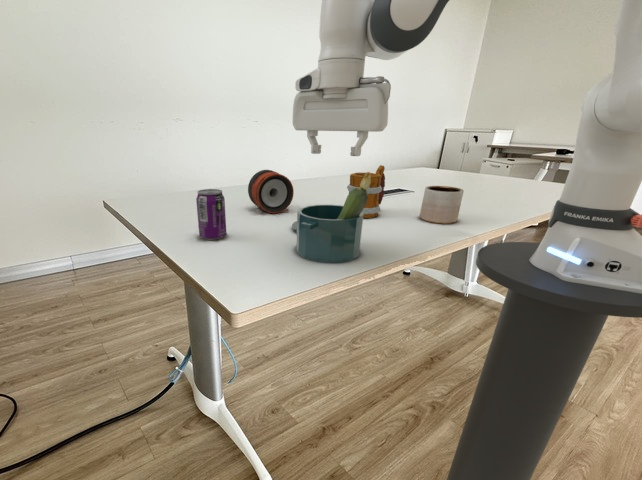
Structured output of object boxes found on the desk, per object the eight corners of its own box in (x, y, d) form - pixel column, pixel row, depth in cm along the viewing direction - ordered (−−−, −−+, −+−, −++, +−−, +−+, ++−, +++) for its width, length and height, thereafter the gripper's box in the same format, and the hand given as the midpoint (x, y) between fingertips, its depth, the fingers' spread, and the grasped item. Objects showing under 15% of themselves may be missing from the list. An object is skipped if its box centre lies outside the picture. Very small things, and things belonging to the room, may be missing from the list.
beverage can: (229, 239, 89) (226, 192, 84) (201, 242, 87) (197, 194, 82) (223, 232, 95) (220, 188, 90) (197, 234, 93) (193, 189, 88)
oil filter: (257, 215, 112) (256, 174, 106) (246, 207, 122) (245, 169, 117) (293, 212, 116) (294, 172, 110) (279, 204, 126) (280, 167, 121)
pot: (374, 246, 84) (379, 208, 80) (333, 272, 70) (336, 227, 66) (323, 235, 93) (325, 200, 89) (277, 255, 79) (277, 215, 75)
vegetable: (332, 244, 84) (378, 171, 72) (337, 256, 81) (386, 181, 69) (316, 240, 82) (361, 165, 71) (321, 251, 79) (368, 174, 67)
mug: (337, 214, 114) (341, 166, 108) (367, 206, 124) (372, 163, 117) (364, 220, 106) (370, 170, 100) (393, 212, 116) (400, 166, 110)
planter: (439, 214, 114) (445, 184, 110) (465, 222, 105) (472, 190, 101) (411, 216, 111) (417, 186, 107) (435, 225, 102) (442, 193, 98)
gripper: (398, 76, 63) (388, 156, 69) (306, 84, 75) (303, 151, 80) (385, 73, 59) (375, 158, 64) (288, 81, 70) (287, 153, 76)
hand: (334, 154), depth 72 cm, fingers open, 8 cm apart
